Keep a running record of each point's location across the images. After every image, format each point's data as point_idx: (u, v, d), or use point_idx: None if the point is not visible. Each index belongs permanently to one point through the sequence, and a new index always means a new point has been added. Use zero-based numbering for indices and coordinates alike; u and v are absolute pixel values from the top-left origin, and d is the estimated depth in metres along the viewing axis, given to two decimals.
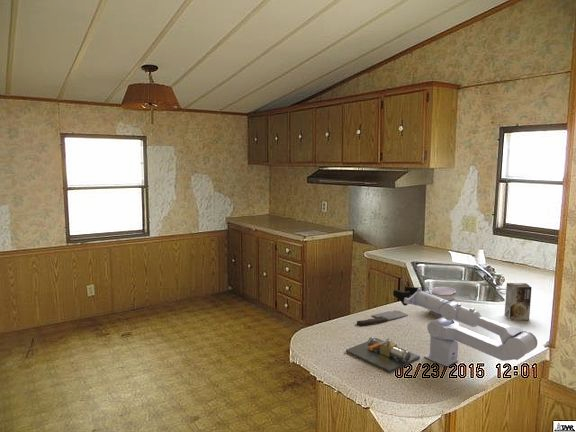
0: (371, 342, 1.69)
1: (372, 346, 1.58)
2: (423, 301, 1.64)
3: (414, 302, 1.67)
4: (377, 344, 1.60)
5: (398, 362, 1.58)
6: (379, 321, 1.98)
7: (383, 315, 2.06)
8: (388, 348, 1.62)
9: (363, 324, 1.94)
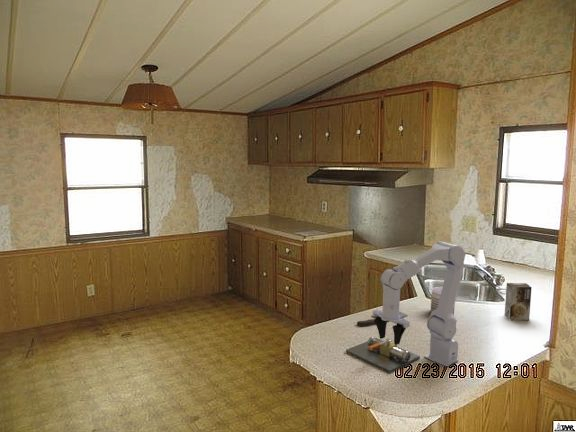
0: (371, 342, 1.69)
1: (372, 346, 1.58)
2: (396, 308, 1.50)
3: (399, 317, 1.52)
4: (377, 344, 1.60)
5: (398, 362, 1.58)
6: None
7: None
8: (388, 348, 1.62)
9: (363, 325, 1.94)
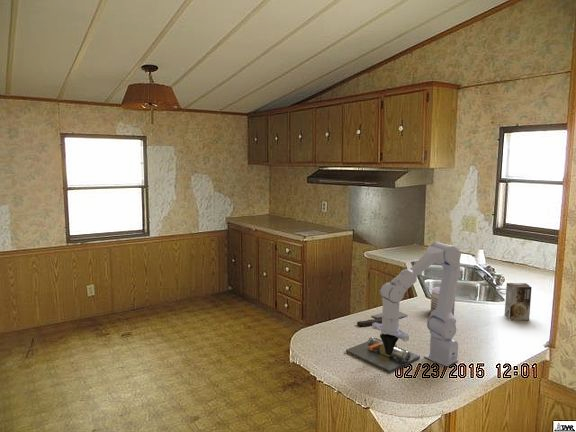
0: (371, 342, 1.69)
1: (372, 346, 1.58)
2: (396, 321, 1.51)
3: (398, 331, 1.52)
4: (377, 344, 1.60)
5: (398, 362, 1.58)
6: (379, 322, 1.97)
7: None
8: None
9: (363, 325, 1.94)
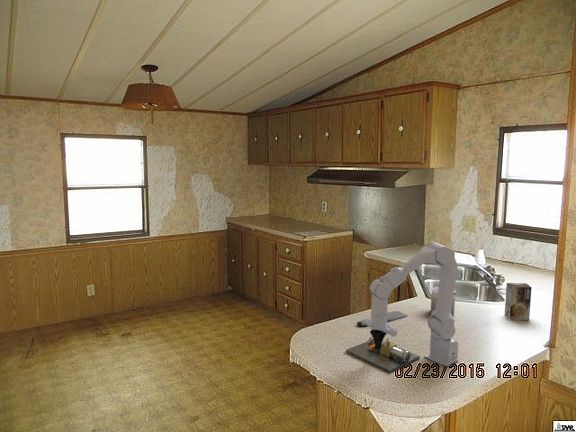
0: (371, 342, 1.69)
1: (372, 346, 1.58)
2: (384, 317, 1.55)
3: (387, 326, 1.56)
4: None
5: (398, 362, 1.58)
6: None
7: None
8: (388, 348, 1.62)
9: (363, 325, 1.93)
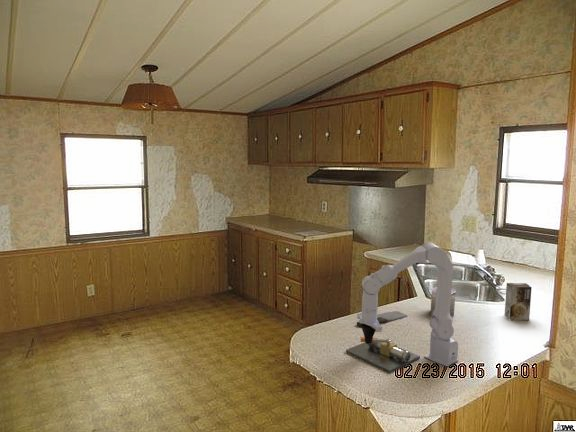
0: None
1: (363, 338, 1.65)
2: (372, 313, 1.59)
3: (376, 322, 1.60)
4: None
5: (398, 362, 1.58)
6: (379, 322, 1.96)
7: (383, 316, 2.05)
8: (388, 348, 1.62)
9: None
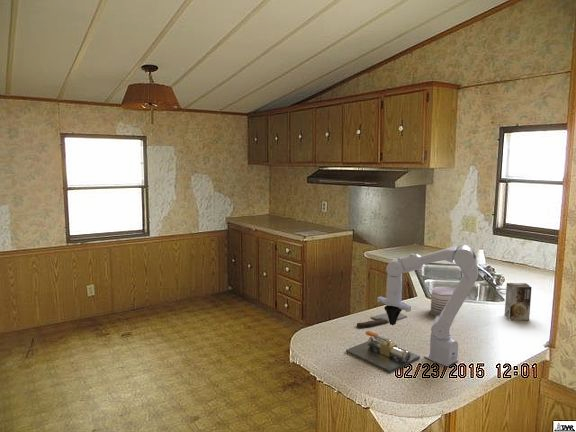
0: (371, 342, 1.69)
1: (368, 331, 1.71)
2: (399, 294, 1.65)
3: (401, 303, 1.67)
4: (374, 334, 1.69)
5: (398, 362, 1.58)
6: (379, 323, 1.95)
7: (382, 317, 2.04)
8: (388, 348, 1.62)
9: (363, 326, 1.92)
